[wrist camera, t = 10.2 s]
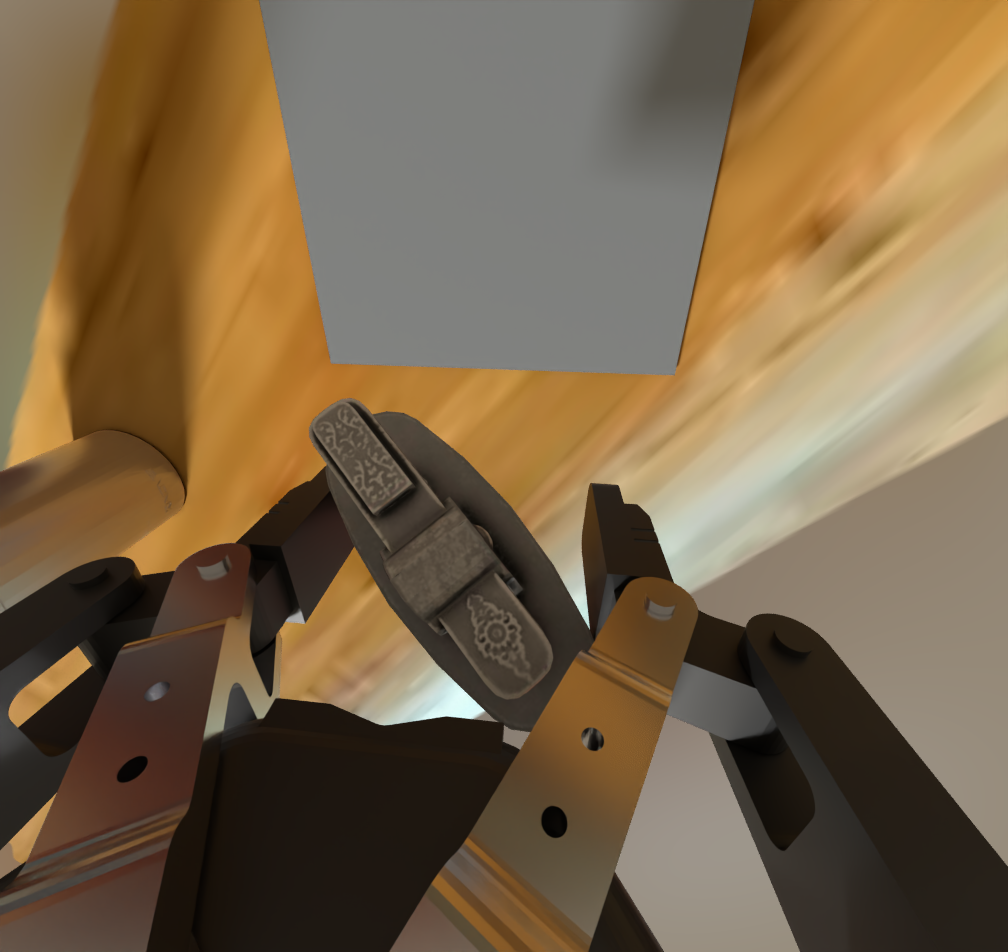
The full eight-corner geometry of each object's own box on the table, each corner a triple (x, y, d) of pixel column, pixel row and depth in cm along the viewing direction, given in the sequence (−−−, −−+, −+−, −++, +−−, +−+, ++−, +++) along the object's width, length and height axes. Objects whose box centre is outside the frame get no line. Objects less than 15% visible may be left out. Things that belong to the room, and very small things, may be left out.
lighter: (584, 627, 16) (682, 682, 6) (515, 688, 15) (499, 856, 6) (455, 469, 17) (372, 318, 8) (390, 520, 17) (217, 425, 7)
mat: (334, 361, 30) (331, 363, 30) (255, -48, 20) (248, -55, 20) (672, 372, 28) (674, 375, 28) (765, -74, 18) (771, -83, 18)
